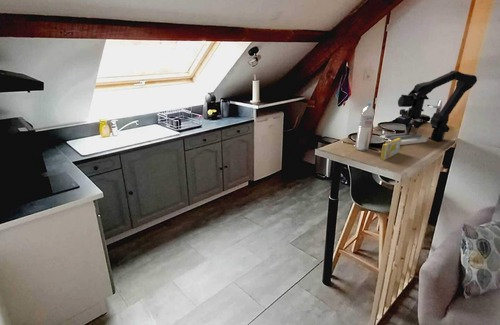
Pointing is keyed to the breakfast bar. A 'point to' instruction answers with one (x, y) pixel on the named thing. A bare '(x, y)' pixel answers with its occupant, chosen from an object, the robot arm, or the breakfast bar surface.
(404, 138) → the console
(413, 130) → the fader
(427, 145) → the breakfast bar surface
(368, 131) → the water bottle
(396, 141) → the candy box
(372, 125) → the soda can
